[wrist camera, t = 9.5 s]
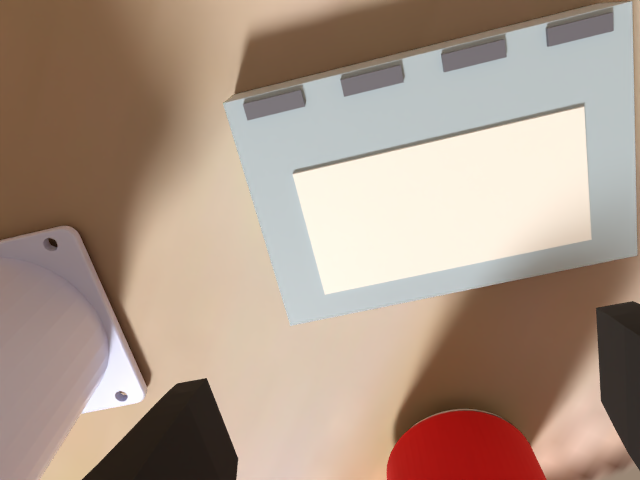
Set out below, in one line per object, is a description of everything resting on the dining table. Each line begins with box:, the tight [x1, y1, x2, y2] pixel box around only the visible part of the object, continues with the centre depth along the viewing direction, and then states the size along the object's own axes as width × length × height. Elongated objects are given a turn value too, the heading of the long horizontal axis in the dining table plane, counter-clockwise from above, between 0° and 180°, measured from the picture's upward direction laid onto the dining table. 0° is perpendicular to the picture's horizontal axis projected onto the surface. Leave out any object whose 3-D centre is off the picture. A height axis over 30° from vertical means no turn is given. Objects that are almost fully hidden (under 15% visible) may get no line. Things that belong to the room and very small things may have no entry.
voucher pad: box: [223, 1, 637, 326], centre depth 18 cm, size 12×8×2 cm, turn 104°
